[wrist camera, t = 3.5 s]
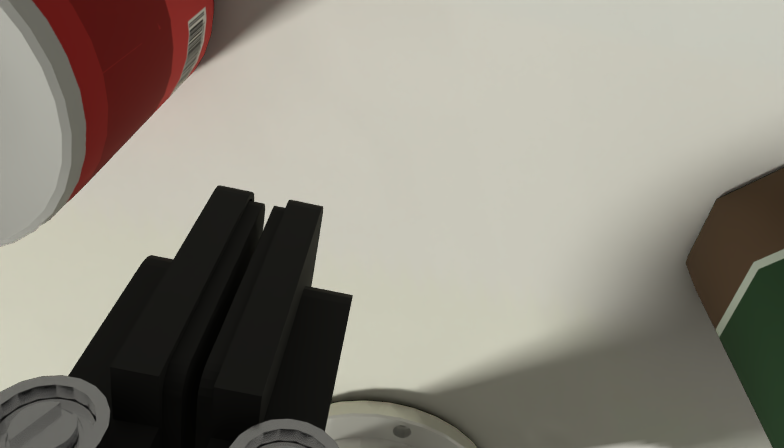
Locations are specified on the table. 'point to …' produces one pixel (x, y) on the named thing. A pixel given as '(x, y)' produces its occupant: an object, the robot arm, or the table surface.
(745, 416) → the table surface
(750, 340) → the beer bottle
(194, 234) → the robot arm
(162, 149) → the table surface
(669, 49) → the table surface
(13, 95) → the canned food
